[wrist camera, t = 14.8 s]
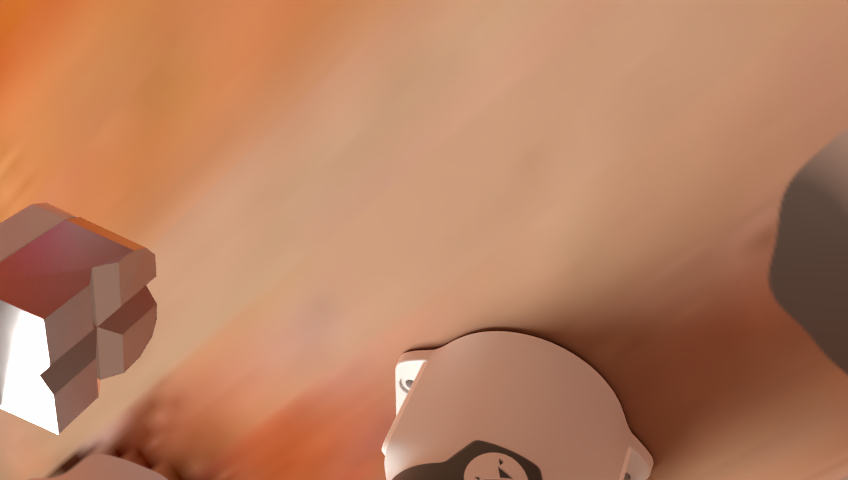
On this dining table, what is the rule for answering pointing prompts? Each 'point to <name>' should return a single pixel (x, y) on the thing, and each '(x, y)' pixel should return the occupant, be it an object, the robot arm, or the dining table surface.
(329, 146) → the dining table surface
